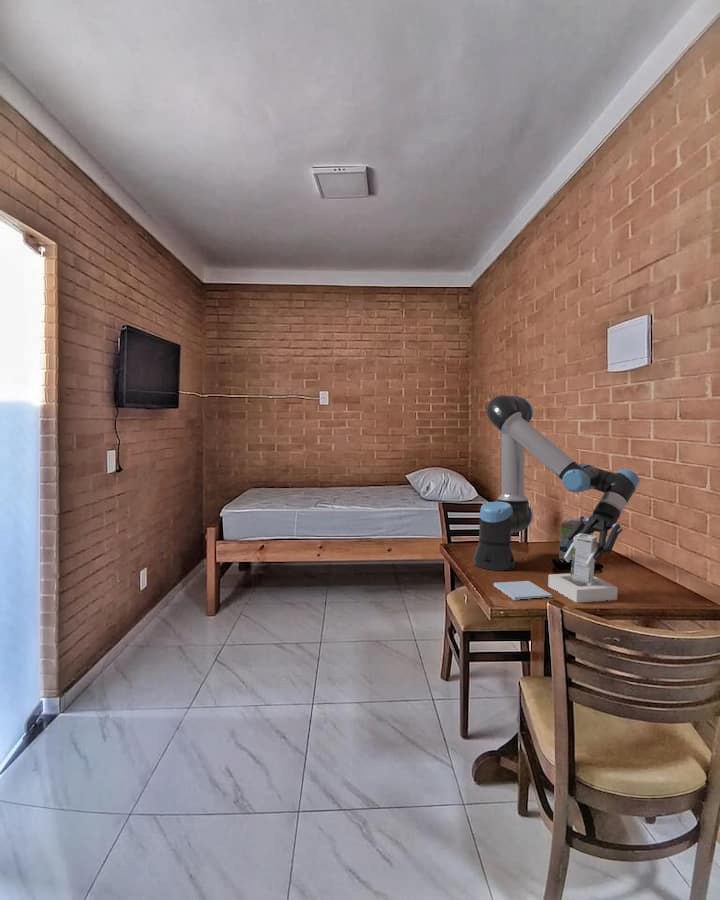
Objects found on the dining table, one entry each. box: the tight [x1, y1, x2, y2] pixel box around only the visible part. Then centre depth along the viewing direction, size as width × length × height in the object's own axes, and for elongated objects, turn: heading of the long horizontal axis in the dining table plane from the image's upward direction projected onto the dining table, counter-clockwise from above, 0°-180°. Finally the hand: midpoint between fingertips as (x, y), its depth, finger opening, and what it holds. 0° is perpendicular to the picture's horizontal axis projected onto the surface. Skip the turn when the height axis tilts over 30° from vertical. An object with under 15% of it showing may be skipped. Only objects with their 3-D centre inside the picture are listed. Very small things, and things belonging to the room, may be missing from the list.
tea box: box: [558, 517, 592, 561], centre depth 198 cm, size 15×10×15 cm
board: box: [493, 580, 553, 601], centre depth 156 cm, size 13×13×1 cm
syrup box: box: [570, 533, 598, 583], centre depth 156 cm, size 6×6×14 cm
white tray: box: [547, 572, 619, 604], centre depth 157 cm, size 14×14×4 cm
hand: (576, 563), depth 154 cm, fingers closed on syrup box, 7 cm apart
